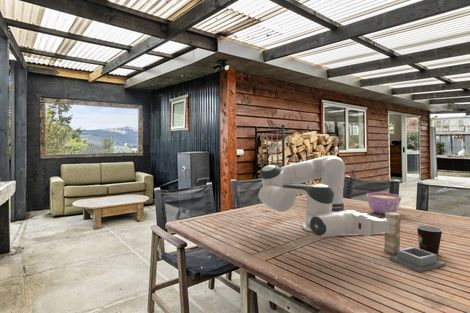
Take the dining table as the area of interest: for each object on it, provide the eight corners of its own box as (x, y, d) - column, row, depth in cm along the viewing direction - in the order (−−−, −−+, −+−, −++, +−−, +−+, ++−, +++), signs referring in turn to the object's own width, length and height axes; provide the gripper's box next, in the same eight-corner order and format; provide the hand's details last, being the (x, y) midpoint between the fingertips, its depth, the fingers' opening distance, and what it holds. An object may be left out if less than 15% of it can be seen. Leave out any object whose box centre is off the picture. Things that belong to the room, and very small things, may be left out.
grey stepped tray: (419, 272, 99) (419, 261, 99) (389, 259, 110) (389, 249, 110) (445, 265, 104) (445, 255, 104) (413, 254, 115) (414, 244, 115)
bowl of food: (407, 216, 173) (408, 198, 172) (375, 217, 173) (375, 198, 173) (390, 209, 193) (390, 192, 192) (361, 209, 193) (361, 192, 193)
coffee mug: (442, 257, 111) (443, 233, 111) (416, 253, 116) (417, 229, 116) (439, 248, 121) (440, 225, 121) (416, 244, 126) (416, 222, 125)
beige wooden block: (392, 253, 116) (393, 215, 115) (384, 250, 120) (385, 213, 119) (399, 252, 117) (400, 214, 117) (391, 248, 121) (391, 212, 120)
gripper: (331, 223, 118) (357, 219, 123) (371, 237, 99) (399, 233, 104) (331, 208, 118) (357, 205, 123) (371, 219, 99) (399, 216, 104)
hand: (376, 218), depth 113 cm, fingers open, 8 cm apart
